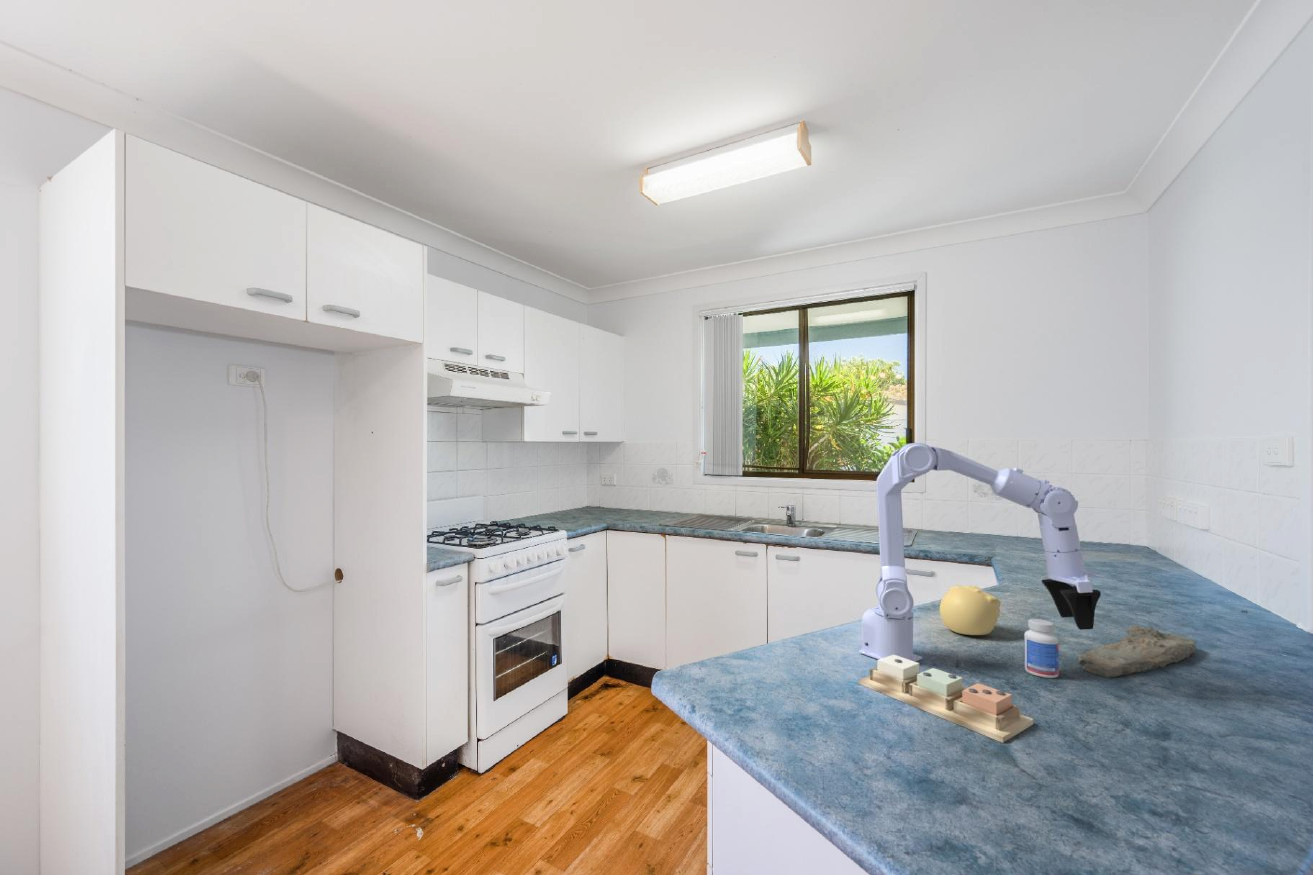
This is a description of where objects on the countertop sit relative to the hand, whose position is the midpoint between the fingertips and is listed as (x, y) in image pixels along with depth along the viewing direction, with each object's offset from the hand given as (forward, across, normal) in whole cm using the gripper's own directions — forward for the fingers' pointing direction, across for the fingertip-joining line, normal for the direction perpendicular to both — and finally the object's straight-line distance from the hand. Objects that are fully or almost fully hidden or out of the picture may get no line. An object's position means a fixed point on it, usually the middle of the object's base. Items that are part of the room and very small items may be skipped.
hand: (1076, 622), depth 103 cm
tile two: (+4, -19, +28) cm, 34 cm away
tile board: (+6, -19, +28) cm, 34 cm away
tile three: (+5, -24, +22) cm, 32 cm away
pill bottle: (+10, +1, +7) cm, 12 cm away
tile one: (+3, -14, +33) cm, 36 cm away
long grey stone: (+14, +16, -15) cm, 26 cm away
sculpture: (+8, +24, +14) cm, 29 cm away
